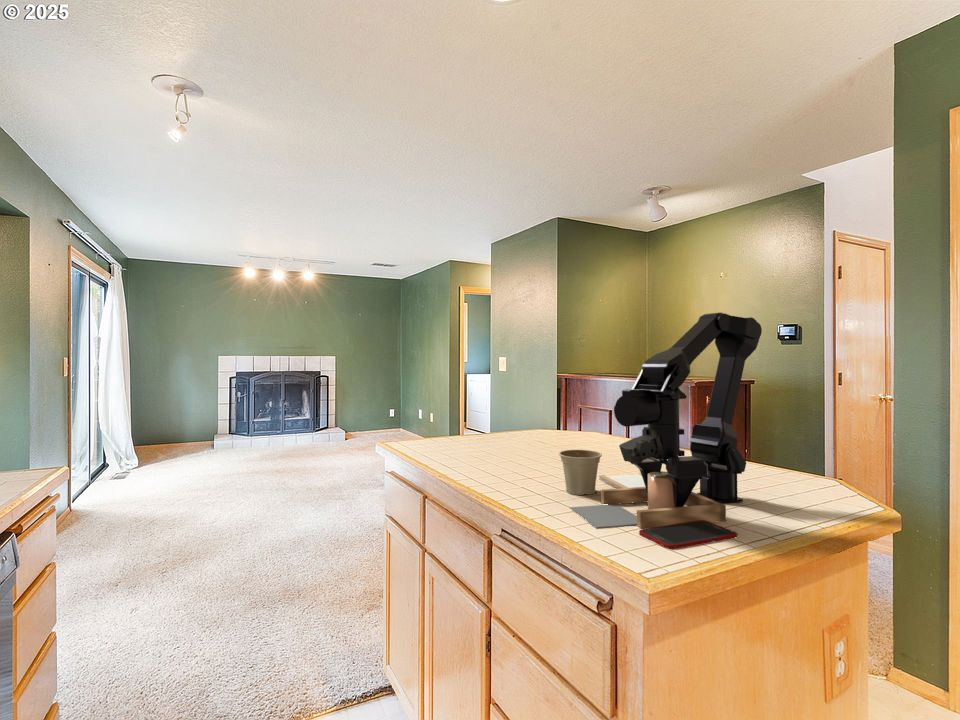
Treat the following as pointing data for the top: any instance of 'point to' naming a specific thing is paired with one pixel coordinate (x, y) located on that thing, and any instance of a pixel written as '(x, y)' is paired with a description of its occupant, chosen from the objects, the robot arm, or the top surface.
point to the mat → (606, 515)
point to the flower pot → (580, 470)
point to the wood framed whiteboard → (623, 481)
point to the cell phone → (687, 534)
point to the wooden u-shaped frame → (693, 510)
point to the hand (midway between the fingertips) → (664, 503)
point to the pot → (659, 491)
